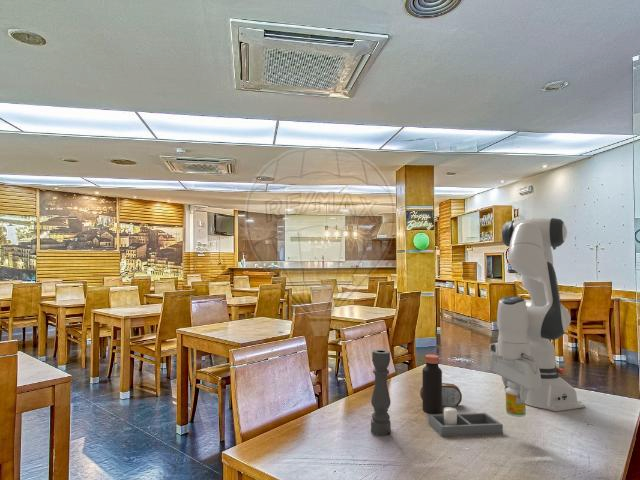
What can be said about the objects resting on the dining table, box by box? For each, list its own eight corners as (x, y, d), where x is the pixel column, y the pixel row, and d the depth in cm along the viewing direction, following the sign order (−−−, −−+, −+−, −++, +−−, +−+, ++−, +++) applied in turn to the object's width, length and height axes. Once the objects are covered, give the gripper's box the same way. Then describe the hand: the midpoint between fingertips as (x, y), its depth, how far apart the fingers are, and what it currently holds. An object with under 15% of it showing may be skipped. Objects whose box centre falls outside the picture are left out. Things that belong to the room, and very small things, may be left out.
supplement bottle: (502, 411, 126) (501, 379, 127) (519, 410, 126) (518, 378, 127) (512, 417, 121) (511, 384, 121) (529, 417, 121) (528, 383, 122)
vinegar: (443, 411, 146) (443, 355, 147) (440, 417, 140) (440, 359, 141) (424, 408, 149) (424, 353, 150) (420, 414, 143) (420, 356, 144)
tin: (460, 406, 152) (460, 383, 153) (462, 409, 149) (462, 385, 150) (419, 404, 154) (419, 381, 154) (421, 407, 151) (421, 383, 151)
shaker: (453, 425, 131) (453, 407, 131) (459, 431, 127) (459, 411, 127) (441, 426, 130) (441, 407, 131) (447, 431, 126) (447, 412, 127)
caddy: (485, 423, 136) (485, 412, 136) (502, 436, 126) (502, 424, 126) (428, 425, 133) (428, 414, 133) (441, 438, 123) (441, 427, 123)
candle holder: (392, 429, 130) (392, 350, 131) (388, 437, 124) (389, 354, 125) (373, 426, 132) (373, 348, 133) (368, 434, 126) (369, 352, 127)
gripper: (546, 357, 115) (548, 407, 114) (504, 343, 135) (505, 385, 134) (525, 358, 114) (527, 409, 113) (486, 343, 134) (487, 386, 133)
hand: (515, 395), depth 124 cm, fingers closed on supplement bottle, 5 cm apart
